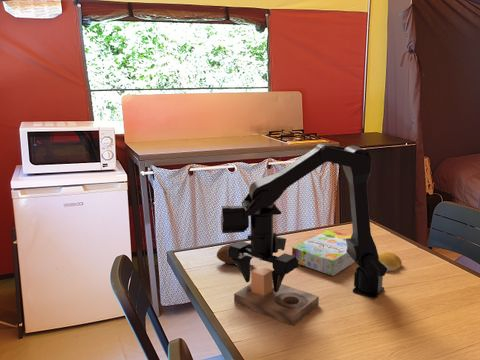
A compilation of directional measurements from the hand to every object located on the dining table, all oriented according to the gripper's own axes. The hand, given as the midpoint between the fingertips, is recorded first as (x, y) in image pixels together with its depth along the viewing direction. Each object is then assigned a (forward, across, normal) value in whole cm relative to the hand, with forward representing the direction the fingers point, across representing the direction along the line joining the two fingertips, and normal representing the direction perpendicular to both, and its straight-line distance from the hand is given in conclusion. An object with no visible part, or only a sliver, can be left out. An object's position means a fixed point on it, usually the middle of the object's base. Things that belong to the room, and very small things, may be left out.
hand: (261, 286), depth 118 cm
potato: (+4, +20, -13) cm, 24 cm away
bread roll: (+4, -18, -40) cm, 44 cm away
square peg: (+3, 0, 0) cm, 3 cm away
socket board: (+3, -4, 0) cm, 6 cm away
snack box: (+1, +5, -34) cm, 35 cm away
